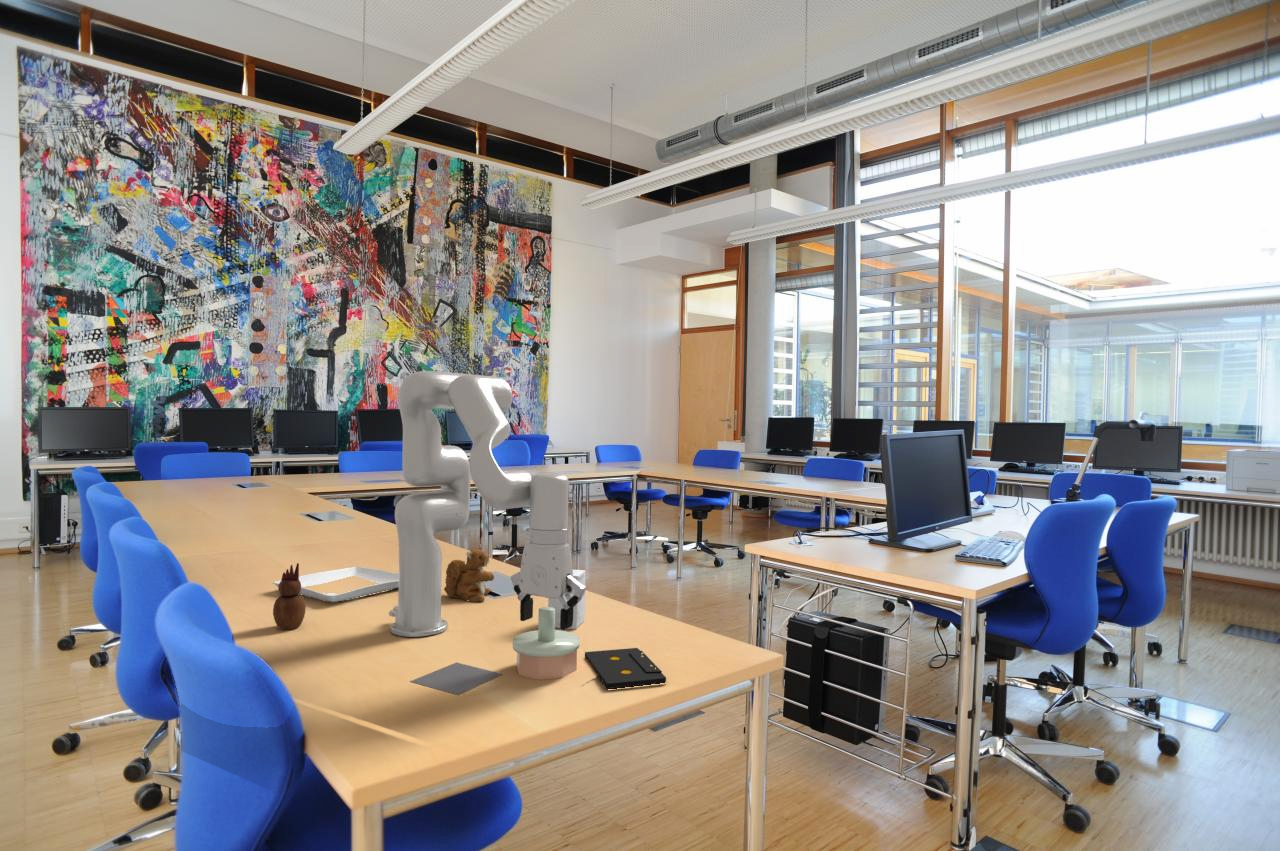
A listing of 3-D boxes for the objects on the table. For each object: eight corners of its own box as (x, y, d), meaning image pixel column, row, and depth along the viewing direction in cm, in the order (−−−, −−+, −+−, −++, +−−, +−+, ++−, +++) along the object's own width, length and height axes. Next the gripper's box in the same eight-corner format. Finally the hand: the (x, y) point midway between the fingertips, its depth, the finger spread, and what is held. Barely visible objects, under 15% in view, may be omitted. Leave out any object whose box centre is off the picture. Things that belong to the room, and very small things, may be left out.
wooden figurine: (310, 626, 165) (311, 562, 165) (288, 633, 160) (289, 566, 160) (290, 622, 168) (290, 559, 168) (268, 628, 163) (268, 563, 163)
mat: (409, 684, 131) (409, 681, 131) (456, 665, 141) (456, 662, 141) (458, 698, 125) (458, 694, 125) (503, 677, 135) (503, 674, 135)
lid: (498, 649, 136) (499, 611, 136) (540, 631, 148) (540, 597, 148) (553, 661, 130) (554, 622, 130) (592, 642, 141) (592, 606, 141)
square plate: (416, 589, 204) (416, 575, 204) (330, 610, 181) (330, 594, 181) (357, 576, 218) (357, 563, 218) (270, 594, 195) (270, 580, 195)
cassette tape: (666, 687, 133) (666, 676, 133) (607, 693, 130) (607, 682, 130) (637, 656, 150) (637, 646, 150) (584, 661, 147) (584, 650, 147)
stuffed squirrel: (485, 603, 189) (485, 553, 188) (435, 600, 191) (435, 551, 191) (498, 594, 198) (499, 547, 198) (450, 591, 201) (451, 544, 201)
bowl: (505, 674, 137) (506, 648, 137) (541, 657, 146) (541, 633, 146) (552, 685, 131) (552, 659, 131) (585, 668, 141) (586, 643, 141)
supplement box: (577, 629, 166) (578, 576, 166) (546, 627, 168) (547, 574, 168) (585, 621, 174) (586, 569, 173) (556, 618, 175) (557, 567, 175)
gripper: (501, 534, 140) (499, 620, 140) (573, 544, 131) (571, 636, 132) (525, 529, 146) (523, 612, 147) (595, 539, 138) (593, 626, 138)
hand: (546, 623), depth 139 cm, fingers open, 9 cm apart
